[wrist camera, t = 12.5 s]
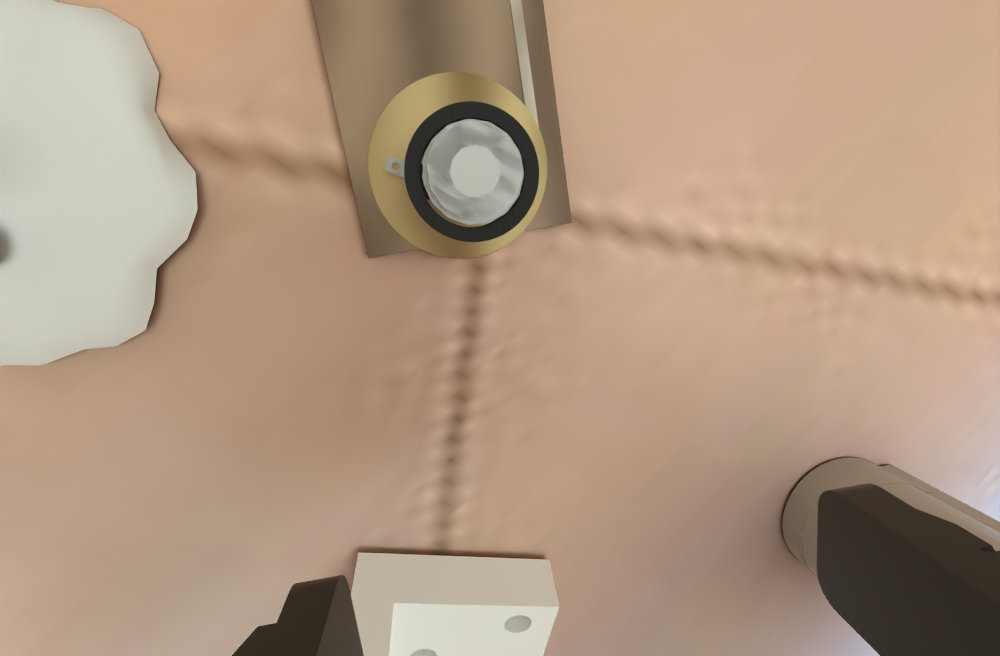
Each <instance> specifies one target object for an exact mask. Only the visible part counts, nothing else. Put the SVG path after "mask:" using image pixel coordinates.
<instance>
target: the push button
mask: <svg viewBox="0 0 1000 656" xmlns="http://www.w3.org/2000/svg"><path fill="white" fill-rule="evenodd" d="M428 146H429V147H428ZM427 147H428V149H427ZM426 149H427V151H426ZM425 151H426V153H425ZM424 153H425V154H424ZM395 164H398V165H400V168H399V169H398V170H393V166H394V165H395ZM385 170H386V171H387V173H389V174H393V175H396V176H399V177H402V178H404V180H405V184H406V189H407V192H408V195H409V198H410V200H411V202H412V204H413V206H414V208H415V210H416V211H417V212H418V214H419V215H420V216H421V218H422V219H423V220H424V221H425V222H426V223H427V224H428V225H429V226H430V227H432V228H433V229H434V230H436V231H437V232H439V233H441V234H442V235H444V236H447V237H449V238H452V239H455V240H459V241H464V242H483V241H488V240H492V239H495V238H498V237H500V236H502V235H504V234H506V233H507V232H509V231H510V230H512V229H513V228H514V227H515V226H517V225H518V224H519V223H520V222H521V221H522V219H523V218H524V217H525V216H526V214H527V213H528V211H529V210H530V208H531V206H532V204H533V202H534V199H535V196H536V193H537V189H538V184H539V162H538V157H537V153H536V150H535V147H534V145H533V142H532V140H531V138H530V137H529V135H528V133H527V132H526V130H525V129H524V128H523V127H522V125H521V124H520V123H519V122H518V121H517V120H516V119H515V118H514V117H512V116H511V115H510V114H508V113H507V112H505V111H504V110H502V109H500V108H498V107H496V106H493V105H490V104H487V103H483V102H475V101H465V102H458V103H454V104H450V105H447V106H445V107H443V108H441V109H439V110H437V111H435V112H434V113H432V114H431V115H430V116H429V117H427V118H426V119H425V120H424V121H423V122H422V123H421V125H420V126H419V127H418V129H417V130H416V131H415V133H414V135H413V136H412V138H411V141H410V143H409V145H408V149H407V152H406V156H405V161H403V160H400V159H397V158H394V157H391V156H389V157H388V158H387V162H386V166H385ZM427 200H431V201H432V203H433V204H434V205H435V206H436V207H437V208H438V209H439V210H440V211H441V212H442V213H443V214H444V215H445V216H447V217H448V218H450V219H453V220H455V221H458V222H461V223H464V224H468V225H473V224H485V223H488V224H485V225H482V226H477V227H464V226H459V225H456V224H454V223H451V222H449V221H448V220H446V219H444V218H443V217H442V216H440V215H439V214H438V213H437V212H436V211H435V210H434V209H433V208H432V207H431V205H430V204H429V202H428V201H427ZM491 221H492V222H491ZM489 222H490V223H489Z"/></svg>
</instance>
